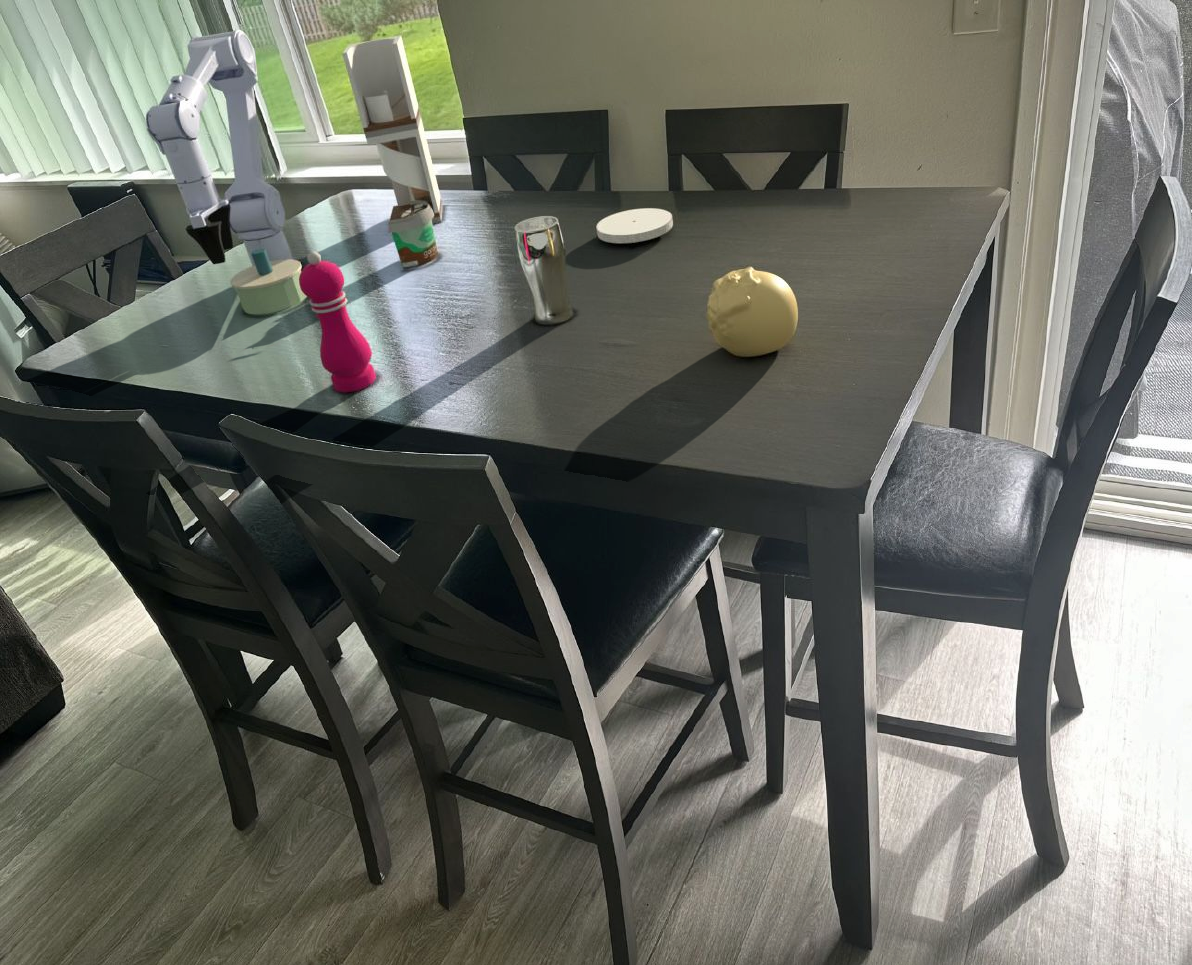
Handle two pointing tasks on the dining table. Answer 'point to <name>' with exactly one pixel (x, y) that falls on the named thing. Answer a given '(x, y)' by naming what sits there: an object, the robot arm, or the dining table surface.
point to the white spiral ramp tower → (393, 120)
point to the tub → (272, 296)
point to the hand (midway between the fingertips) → (223, 255)
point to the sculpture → (752, 312)
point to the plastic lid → (634, 225)
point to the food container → (414, 234)
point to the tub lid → (265, 271)
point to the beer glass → (544, 267)
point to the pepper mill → (336, 327)
